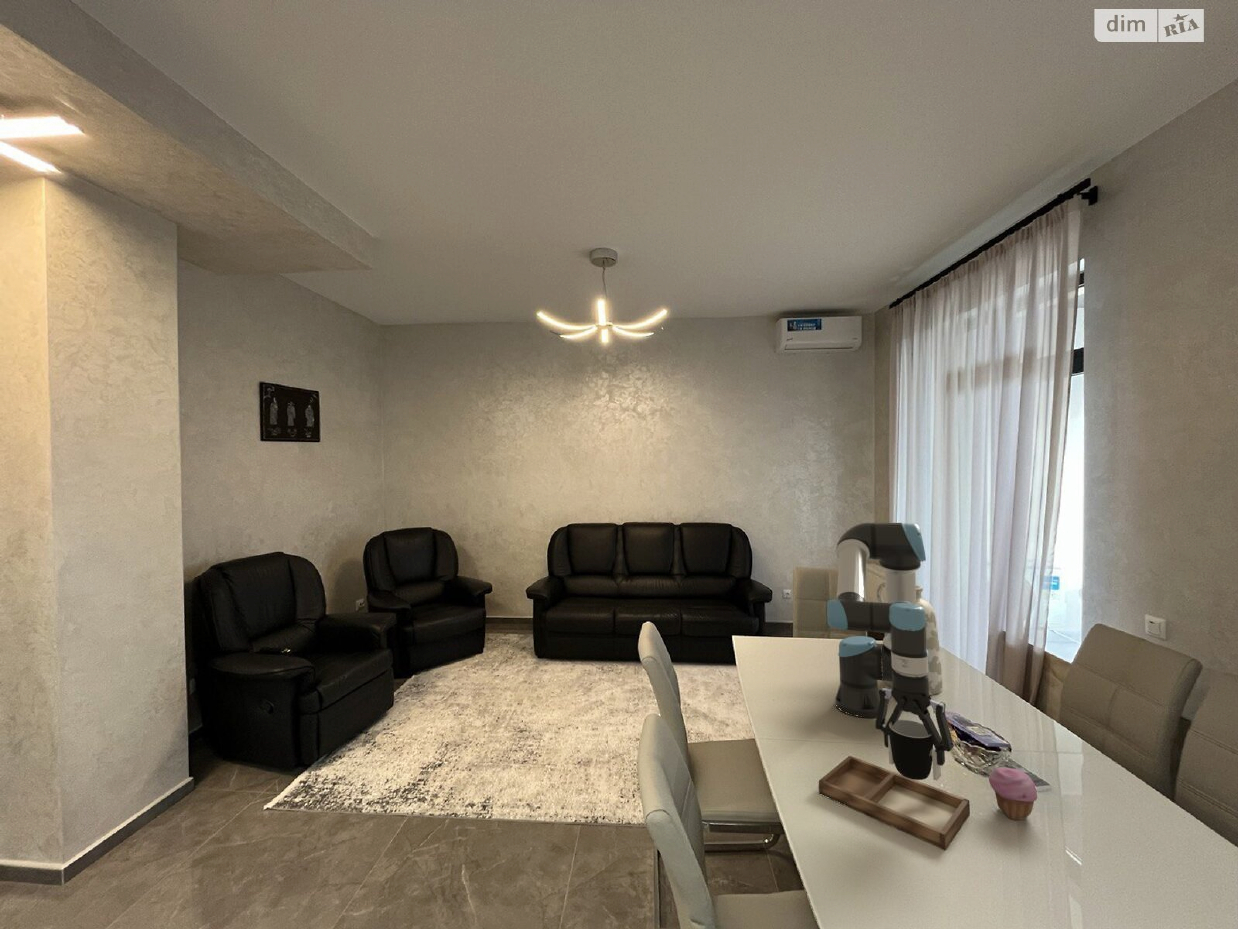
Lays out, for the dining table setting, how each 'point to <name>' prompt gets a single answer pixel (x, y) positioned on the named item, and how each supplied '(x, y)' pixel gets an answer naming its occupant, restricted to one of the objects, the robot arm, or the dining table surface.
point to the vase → (932, 641)
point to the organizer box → (897, 800)
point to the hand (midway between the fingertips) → (914, 769)
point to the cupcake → (1013, 792)
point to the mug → (911, 749)
